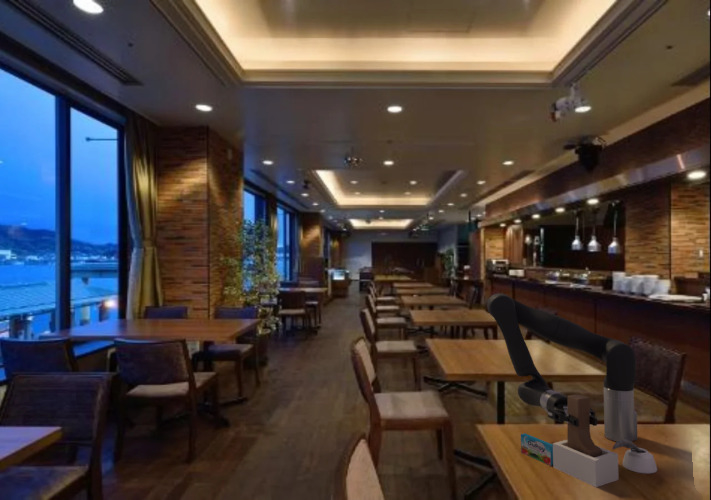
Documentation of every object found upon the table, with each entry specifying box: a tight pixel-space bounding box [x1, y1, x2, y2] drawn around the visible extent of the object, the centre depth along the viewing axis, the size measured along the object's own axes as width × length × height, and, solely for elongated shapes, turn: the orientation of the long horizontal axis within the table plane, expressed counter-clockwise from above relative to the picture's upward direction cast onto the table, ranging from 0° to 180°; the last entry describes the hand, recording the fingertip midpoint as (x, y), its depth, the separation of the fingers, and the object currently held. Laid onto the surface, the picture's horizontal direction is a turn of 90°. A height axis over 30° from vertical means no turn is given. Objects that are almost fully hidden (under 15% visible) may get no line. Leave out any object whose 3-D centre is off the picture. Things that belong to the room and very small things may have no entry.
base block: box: [552, 439, 619, 488], centre depth 147 cm, size 10×14×8 cm, turn 27°
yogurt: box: [520, 433, 553, 467], centre depth 158 cm, size 12×2×6 cm, turn 28°
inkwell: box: [612, 439, 658, 475], centre depth 148 cm, size 9×18×10 cm, turn 124°
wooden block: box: [566, 393, 602, 458], centre depth 147 cm, size 9×4×18 cm, turn 21°
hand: (586, 422), depth 145 cm, fingers closed on wooden block, 5 cm apart
